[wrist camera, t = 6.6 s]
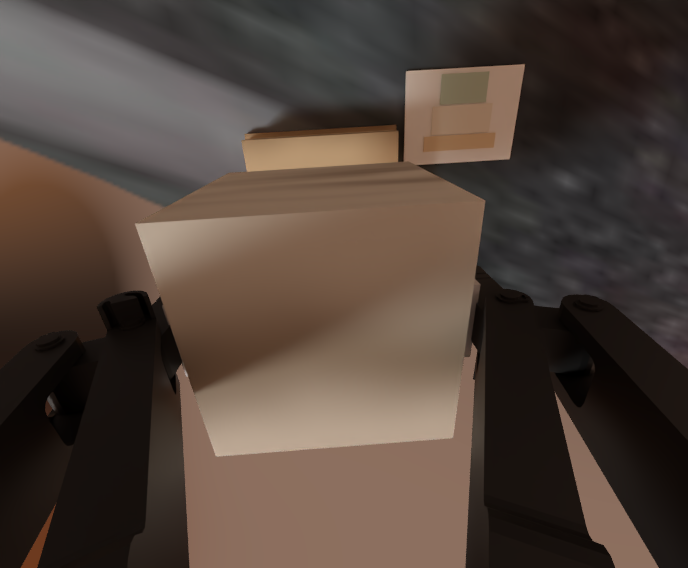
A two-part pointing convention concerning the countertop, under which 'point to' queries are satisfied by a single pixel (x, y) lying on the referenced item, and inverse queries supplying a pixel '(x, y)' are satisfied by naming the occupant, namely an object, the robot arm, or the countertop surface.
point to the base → (320, 148)
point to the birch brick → (320, 303)
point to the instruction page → (461, 114)
